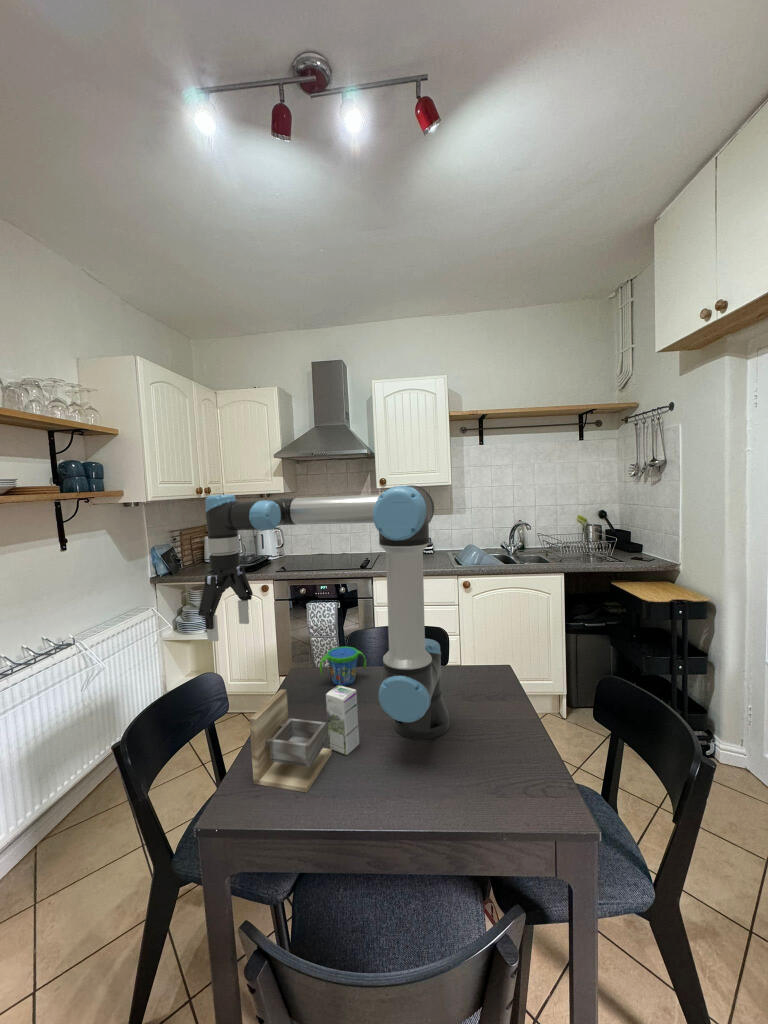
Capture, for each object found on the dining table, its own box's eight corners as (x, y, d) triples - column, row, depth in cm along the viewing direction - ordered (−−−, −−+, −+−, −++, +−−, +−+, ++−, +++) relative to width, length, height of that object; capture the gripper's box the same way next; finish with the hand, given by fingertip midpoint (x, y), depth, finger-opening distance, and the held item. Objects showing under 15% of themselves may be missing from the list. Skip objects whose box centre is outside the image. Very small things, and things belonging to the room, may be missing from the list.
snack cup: (364, 672, 152) (362, 643, 152) (369, 685, 142) (368, 655, 142) (319, 678, 149) (317, 649, 148) (321, 692, 139) (320, 661, 138)
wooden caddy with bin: (331, 753, 107) (328, 693, 106) (306, 792, 94) (303, 725, 93) (284, 746, 111) (280, 689, 110) (253, 783, 97) (249, 718, 96)
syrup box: (360, 744, 110) (357, 688, 109) (346, 756, 105) (343, 698, 104) (342, 737, 113) (339, 683, 112) (327, 749, 108) (324, 693, 108)
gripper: (239, 545, 128) (244, 616, 130) (178, 561, 104) (184, 648, 106) (262, 545, 126) (266, 617, 128) (204, 561, 102) (211, 650, 104)
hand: (229, 631), depth 117 cm, fingers open, 13 cm apart
